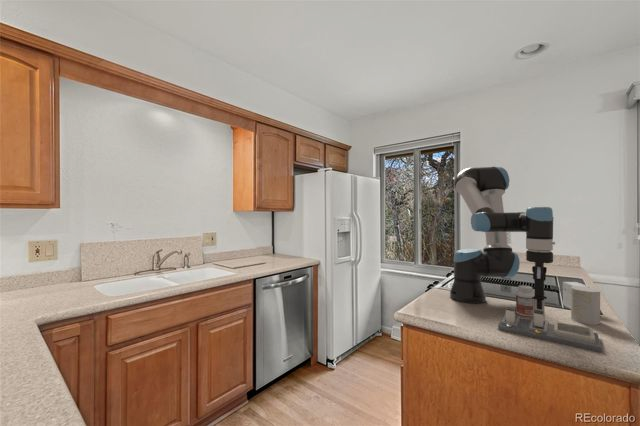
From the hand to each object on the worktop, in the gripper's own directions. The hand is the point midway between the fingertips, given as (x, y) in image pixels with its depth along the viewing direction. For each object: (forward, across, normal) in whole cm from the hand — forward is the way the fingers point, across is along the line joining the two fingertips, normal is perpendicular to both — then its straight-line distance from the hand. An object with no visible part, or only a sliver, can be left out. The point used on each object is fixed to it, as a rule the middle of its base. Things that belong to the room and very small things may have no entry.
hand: (539, 317), depth 101 cm
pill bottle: (+4, +14, +5) cm, 16 cm away
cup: (+4, +20, -13) cm, 24 cm away
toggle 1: (+2, -4, +8) cm, 9 cm away
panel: (+4, -3, -2) cm, 6 cm away
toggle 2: (+2, -2, 0) cm, 3 cm away
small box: (+4, +35, -11) cm, 37 cm away
